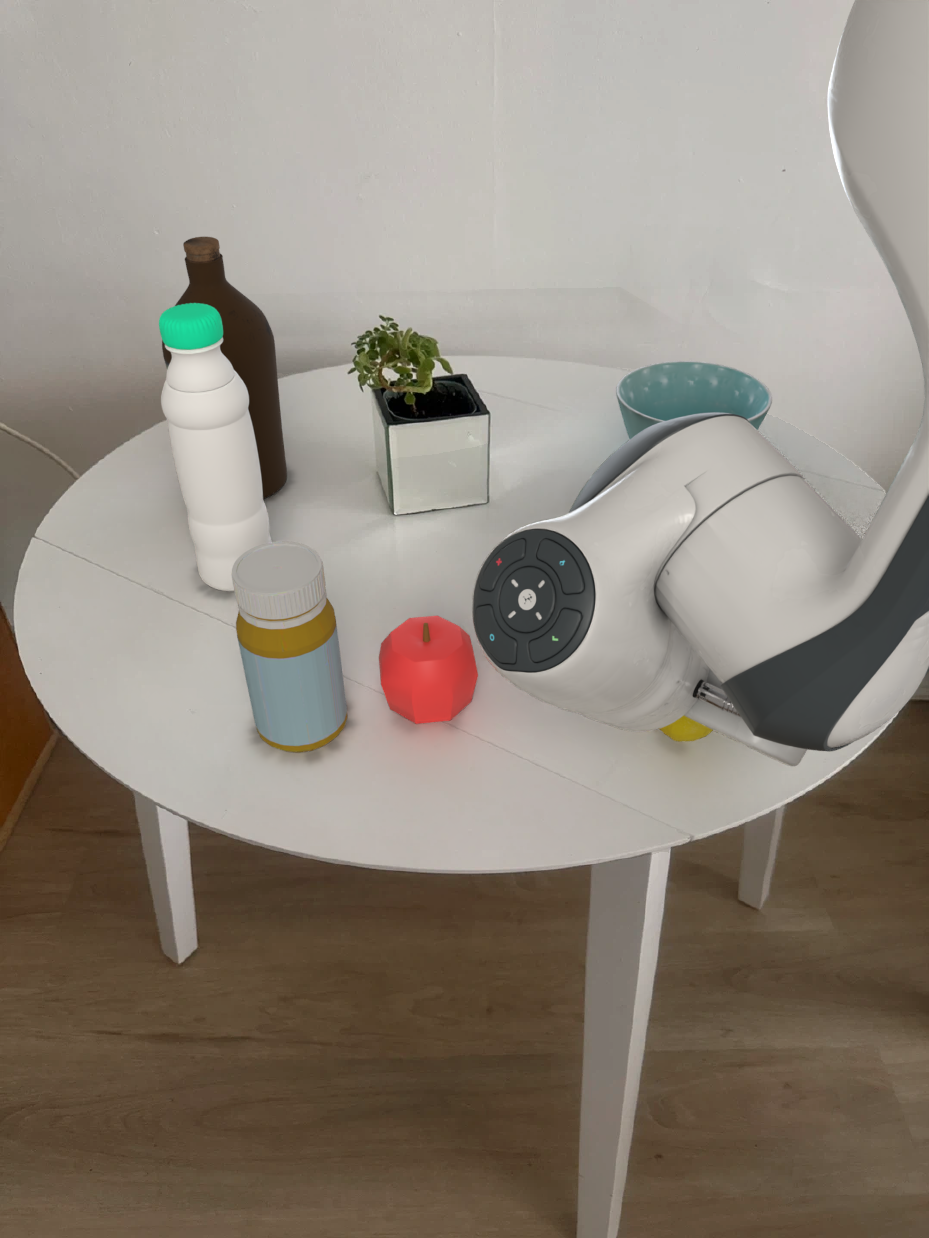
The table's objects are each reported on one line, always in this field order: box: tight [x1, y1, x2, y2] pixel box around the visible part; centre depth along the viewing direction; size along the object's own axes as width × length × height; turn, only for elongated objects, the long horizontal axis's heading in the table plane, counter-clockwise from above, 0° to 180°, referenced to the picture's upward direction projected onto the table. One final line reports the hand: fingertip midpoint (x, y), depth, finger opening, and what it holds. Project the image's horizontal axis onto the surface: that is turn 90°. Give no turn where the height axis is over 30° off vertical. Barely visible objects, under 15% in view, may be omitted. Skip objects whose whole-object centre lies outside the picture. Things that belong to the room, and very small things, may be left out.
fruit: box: [659, 715, 714, 743], centre depth 73 cm, size 6×6×8 cm
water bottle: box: [158, 303, 273, 592], centre depth 85 cm, size 7×7×25 cm
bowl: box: [615, 360, 773, 441], centre depth 105 cm, size 16×16×8 cm
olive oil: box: [161, 236, 288, 500], centre depth 98 cm, size 11×11×25 cm
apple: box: [378, 615, 479, 725], centre depth 76 cm, size 8×8×8 cm
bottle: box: [231, 540, 348, 754], centre depth 72 cm, size 7×7×15 cm
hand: (691, 690), depth 73 cm, fingers closed on fruit, 5 cm apart
